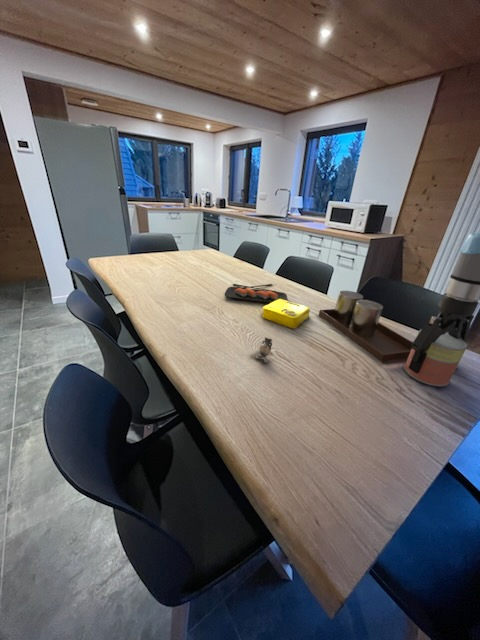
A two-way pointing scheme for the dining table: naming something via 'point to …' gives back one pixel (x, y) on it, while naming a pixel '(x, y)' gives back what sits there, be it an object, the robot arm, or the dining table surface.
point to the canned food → (439, 360)
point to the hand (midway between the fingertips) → (428, 367)
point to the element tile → (286, 313)
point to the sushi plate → (254, 294)
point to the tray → (374, 339)
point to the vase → (265, 349)
